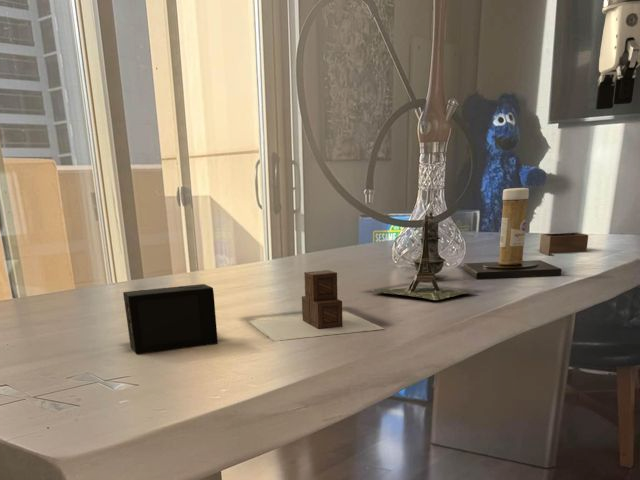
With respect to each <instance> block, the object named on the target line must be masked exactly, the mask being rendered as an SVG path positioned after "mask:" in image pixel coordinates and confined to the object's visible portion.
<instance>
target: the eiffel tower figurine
mask: <svg viewBox="0 0 640 480" xmlns="http://www.w3.org/2000/svg"><path fill="white" fill-rule="evenodd" d="M425 209H426V211H425V212H426V213H425V215H424V219H425V227H424V239H423V249H422V256H421V258H420V259H421V261H420V264H419V268H418V271H415V276H414V278H413V279H412V280H411V282H410V285H409V286H405V287H398V288H389V289H373V290H372V292H376V293H382V294H391V295H398V296H399V295H401V296H405V297H414V298H415V297H416V298H421V299H425V300H432V301H440V300H444V299H448V298H453V297H457V296H460V295H464V294H468V293H472V292H473V290H457V289H450V288H442V287H439V285H438V283H437V281H436V280H435V278H434V275H435V274H434V273H433V271H432V270H431V265H430V258H429V251H428V216H429V214H428V208H427V206H426V208H425ZM424 219H423V220H424ZM424 263H427V271H426V272H422V270H423V264H424ZM422 281H429V282H428V283H431V284H432V287H428V286H421V287H419V284H421V283H423V282H422Z"/></svg>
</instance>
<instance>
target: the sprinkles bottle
mask: <svg viewBox="0 0 640 480" xmlns="http://www.w3.org/2000/svg"><path fill="white" fill-rule="evenodd" d="M529 198H530V189H529V188H528V187H515V188H505V189H503V190H502V217H501V222H500V223H501V225H500V239H499V260H498V262H499V264H500V265H519V264H522V263H523V261H524V259H523V258H524V246H525V237H526V225H527V208H528V207H527V206H528V200H529Z"/></svg>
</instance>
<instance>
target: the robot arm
mask: <svg viewBox="0 0 640 480" xmlns="http://www.w3.org/2000/svg"><path fill="white" fill-rule="evenodd" d="M601 13H602V14H604V15H605V20H604V24H603V32H602V37H601V44H600V51H599V61H598V72H599V73H598V81H597V89H596V91H597V92H596V99H595V110H608V109H609V110H610V109H612V108H613V107H614V105H628V104H631V103H632V101H633V96H634V94H633V93H634V87H635V79H636V75H637V68H638V67H639V66H640V0H603V2H602V10H601Z"/></svg>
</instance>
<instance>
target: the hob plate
mask: <svg viewBox="0 0 640 480" xmlns="http://www.w3.org/2000/svg"><path fill="white" fill-rule="evenodd" d="M463 270H464V271H465V272H466V273H468V274H469V275H471V276H472V277H473V278H475V279H476V280H492V279H512V278H513V279H514V278H515V279H517V278H538V277H540V278H541V277H561V276H562V268H560V267H558V266H556V265H553V264H551V263H548V262H545V261H544V260H541V259H535V260H532V259H531V260H523V263H522V264H519V265H500V264H499V261H489V262H488V261H487V262H466V263H463Z"/></svg>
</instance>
